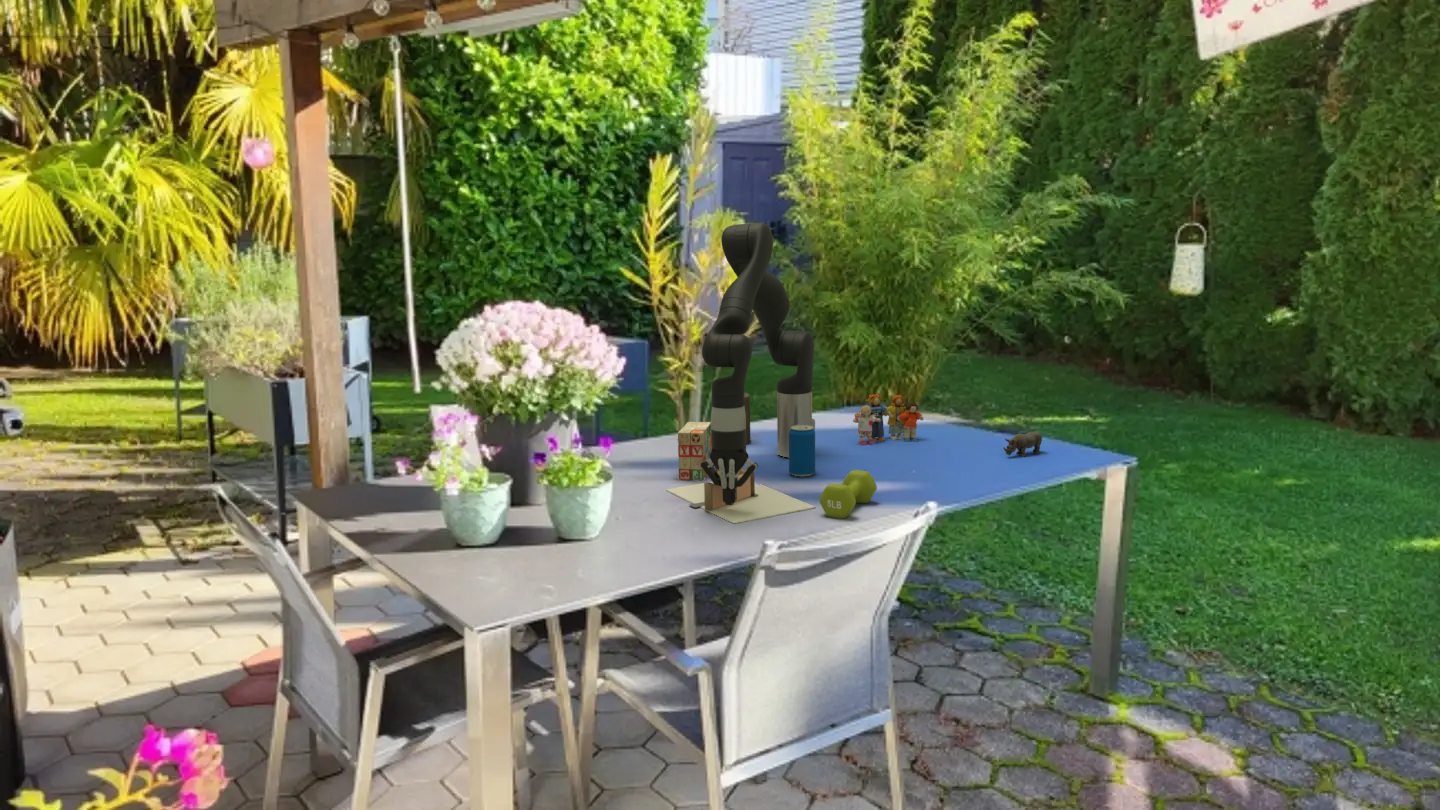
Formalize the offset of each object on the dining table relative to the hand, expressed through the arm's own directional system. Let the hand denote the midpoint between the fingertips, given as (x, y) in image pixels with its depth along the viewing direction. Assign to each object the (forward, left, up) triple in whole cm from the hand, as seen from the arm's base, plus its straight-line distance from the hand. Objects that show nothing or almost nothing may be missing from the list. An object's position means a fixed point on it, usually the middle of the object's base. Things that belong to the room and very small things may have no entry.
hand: (729, 504), depth 224 cm
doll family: (-72, -36, -2) cm, 81 cm away
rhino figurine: (-90, -2, -2) cm, 90 cm away
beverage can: (-31, -17, -2) cm, 35 cm away
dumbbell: (-23, +13, -2) cm, 26 cm away
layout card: (-6, -7, -2) cm, 10 cm away
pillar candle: (-35, -57, -2) cm, 67 cm away
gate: (-2, -5, -1) cm, 5 cm away
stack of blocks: (-12, -36, -2) cm, 38 cm away
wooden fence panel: (-10, -15, -1) cm, 18 cm away
